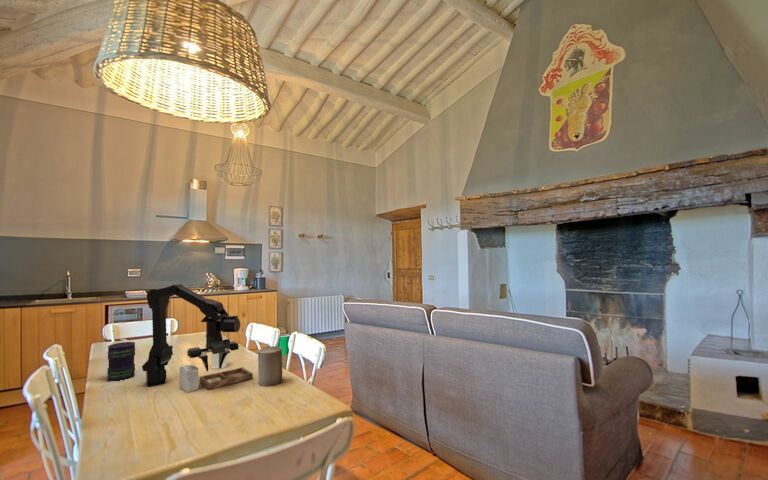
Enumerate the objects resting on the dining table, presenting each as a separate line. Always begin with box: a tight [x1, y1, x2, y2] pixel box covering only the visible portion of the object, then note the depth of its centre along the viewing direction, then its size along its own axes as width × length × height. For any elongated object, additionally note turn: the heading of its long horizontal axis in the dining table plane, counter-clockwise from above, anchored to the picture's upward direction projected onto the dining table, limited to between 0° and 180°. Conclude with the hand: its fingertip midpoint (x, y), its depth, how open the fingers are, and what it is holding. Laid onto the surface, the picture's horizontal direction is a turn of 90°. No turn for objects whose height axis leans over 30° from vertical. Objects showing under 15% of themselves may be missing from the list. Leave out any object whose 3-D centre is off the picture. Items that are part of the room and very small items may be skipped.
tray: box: [198, 367, 254, 391], centre depth 150 cm, size 18×12×2 cm, turn 132°
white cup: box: [210, 352, 229, 370], centre depth 170 cm, size 8×8×10 cm
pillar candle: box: [257, 345, 283, 387], centre depth 148 cm, size 10×10×15 cm
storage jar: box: [107, 341, 136, 382], centre depth 156 cm, size 10×10×15 cm
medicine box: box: [179, 364, 200, 393], centre depth 142 cm, size 8×4×9 cm, turn 49°
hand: (213, 369), depth 147 cm, fingers open, 5 cm apart
